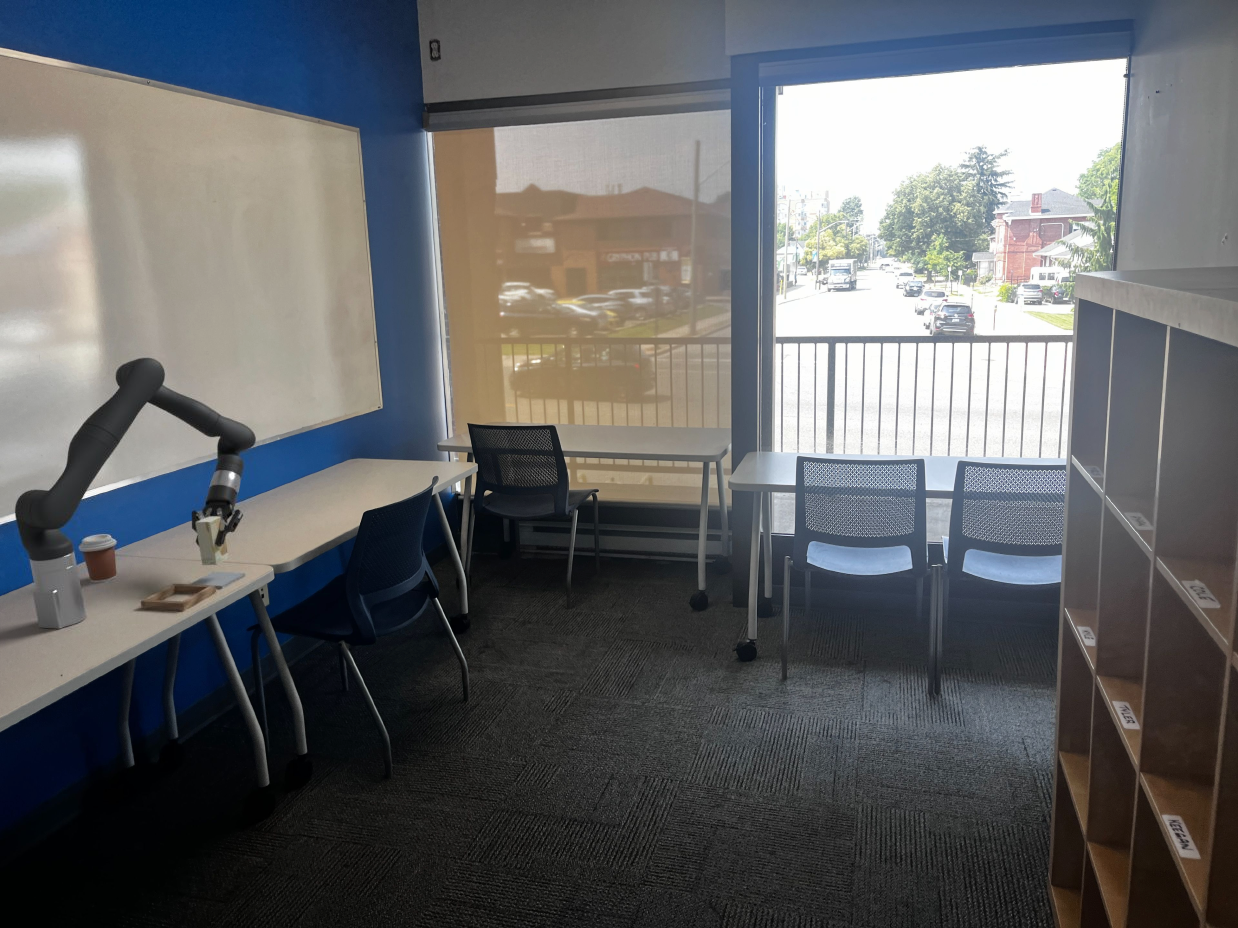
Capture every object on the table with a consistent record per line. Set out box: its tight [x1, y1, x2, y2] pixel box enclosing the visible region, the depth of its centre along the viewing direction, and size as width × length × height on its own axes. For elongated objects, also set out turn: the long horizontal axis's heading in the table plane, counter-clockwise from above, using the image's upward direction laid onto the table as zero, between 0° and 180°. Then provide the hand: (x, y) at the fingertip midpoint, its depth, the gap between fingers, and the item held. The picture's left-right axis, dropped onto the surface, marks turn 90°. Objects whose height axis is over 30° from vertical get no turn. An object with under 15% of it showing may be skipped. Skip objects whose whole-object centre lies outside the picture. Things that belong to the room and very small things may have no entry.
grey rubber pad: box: [190, 570, 246, 589], centre depth 242 cm, size 10×10×1 cm
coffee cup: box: [78, 533, 118, 584], centre depth 246 cm, size 9×9×12 cm
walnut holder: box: [140, 583, 217, 612], centre depth 229 cm, size 12×12×2 cm
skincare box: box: [195, 516, 229, 566], centre depth 240 cm, size 6×4×12 cm
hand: (209, 545), depth 238 cm, fingers closed on skincare box, 4 cm apart
